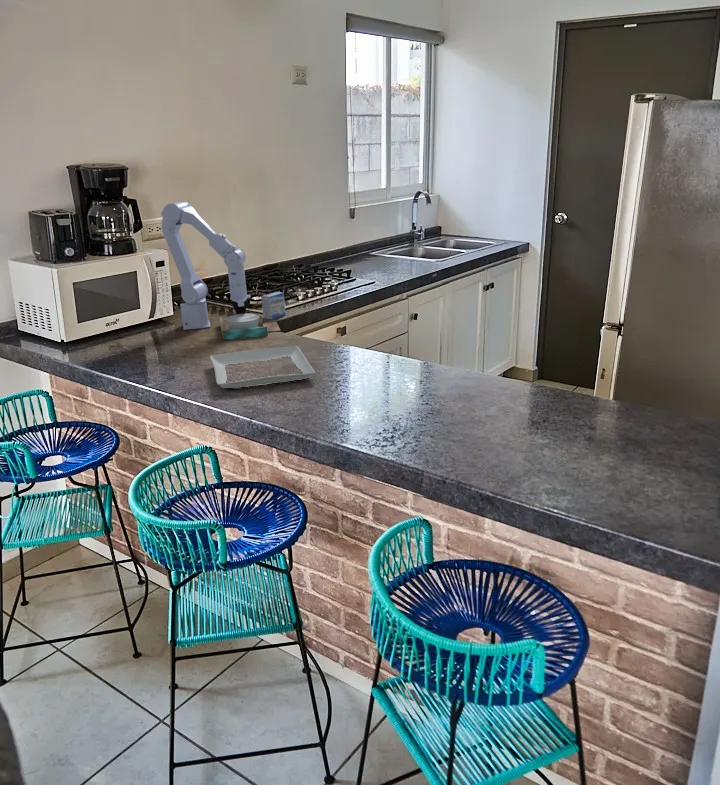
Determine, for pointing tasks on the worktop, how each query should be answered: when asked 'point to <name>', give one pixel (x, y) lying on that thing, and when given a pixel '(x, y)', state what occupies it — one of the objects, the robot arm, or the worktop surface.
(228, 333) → the lane
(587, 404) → the worktop surface
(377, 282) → the worktop surface
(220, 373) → the square plate
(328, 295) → the worktop surface
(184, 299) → the robot arm
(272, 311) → the medicine box
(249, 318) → the ramekin
